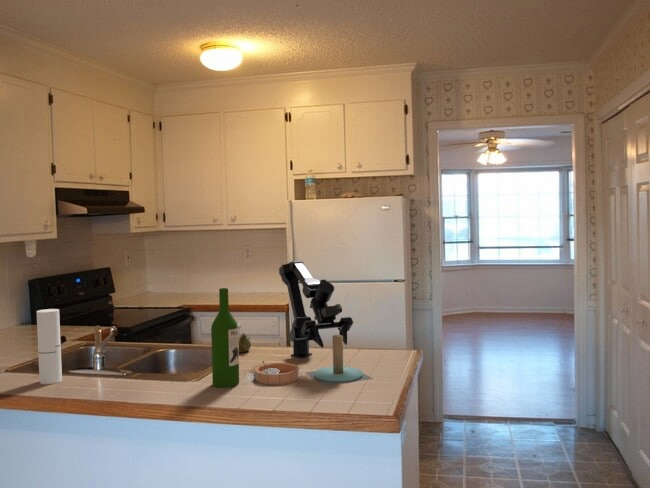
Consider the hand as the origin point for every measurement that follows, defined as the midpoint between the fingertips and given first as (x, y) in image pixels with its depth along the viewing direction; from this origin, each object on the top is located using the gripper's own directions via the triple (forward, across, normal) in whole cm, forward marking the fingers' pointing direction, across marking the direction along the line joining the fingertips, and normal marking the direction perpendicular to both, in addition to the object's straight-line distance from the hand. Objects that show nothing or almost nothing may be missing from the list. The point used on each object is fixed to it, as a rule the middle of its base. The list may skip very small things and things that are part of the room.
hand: (334, 345), depth 209 cm
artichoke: (-28, -19, +43) cm, 55 cm away
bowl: (+4, -20, +11) cm, 23 cm away
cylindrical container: (-20, -92, +35) cm, 101 cm away
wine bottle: (+3, -38, +12) cm, 40 cm away
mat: (+9, 0, +6) cm, 11 cm away
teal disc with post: (+9, 0, +5) cm, 10 cm away
